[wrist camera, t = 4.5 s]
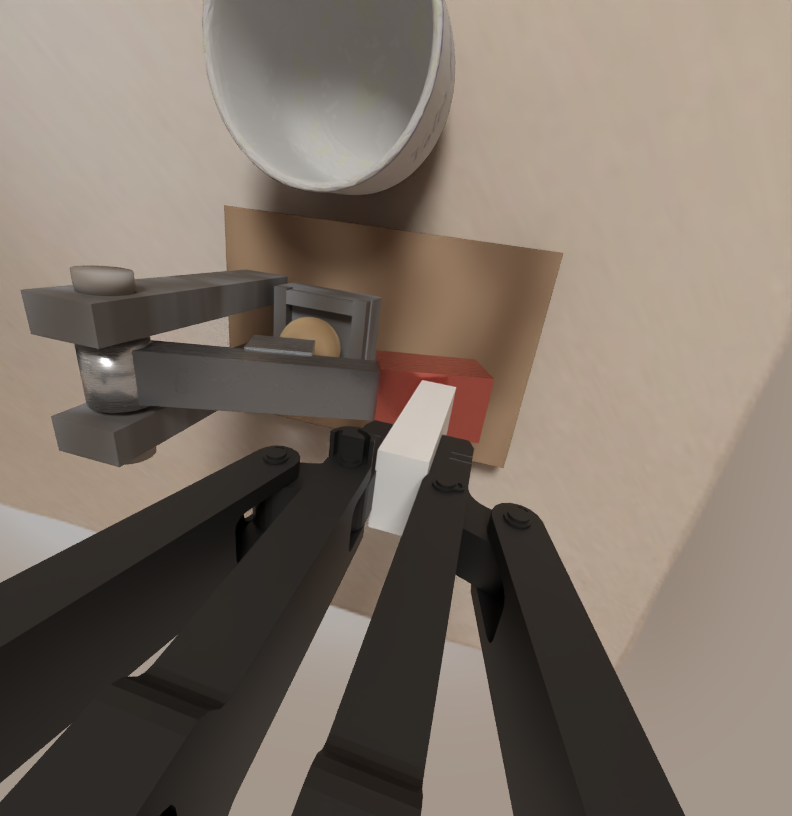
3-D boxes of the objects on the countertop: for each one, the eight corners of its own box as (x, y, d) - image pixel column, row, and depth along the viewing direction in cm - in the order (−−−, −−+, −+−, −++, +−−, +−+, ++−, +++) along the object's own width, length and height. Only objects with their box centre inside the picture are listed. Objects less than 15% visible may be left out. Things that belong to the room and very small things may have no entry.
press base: (246, 396, 33) (49, 511, 19) (242, 208, 27) (-45, 165, 13) (503, 454, 29) (504, 653, 15) (558, 252, 24) (646, 262, 9)
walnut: (295, 363, 26) (266, 379, 23) (296, 307, 25) (265, 317, 22) (346, 373, 26) (324, 392, 22) (351, 318, 24) (328, 328, 21)
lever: (125, 378, 20) (68, 417, 16) (116, 315, 19) (51, 340, 15) (454, 403, 23) (478, 442, 19) (466, 349, 22) (494, 379, 17)
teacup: (466, 191, 24) (451, 168, 17) (302, 218, 27) (229, 207, 20) (452, -135, 19) (422, -367, 12) (254, -61, 22) (132, -212, 15)
